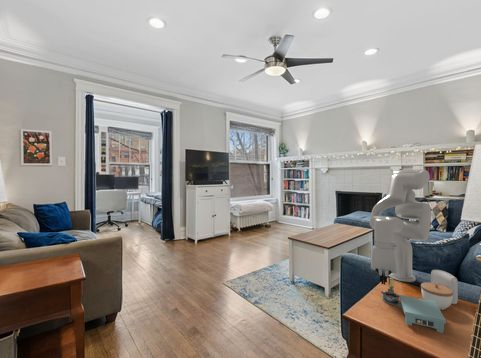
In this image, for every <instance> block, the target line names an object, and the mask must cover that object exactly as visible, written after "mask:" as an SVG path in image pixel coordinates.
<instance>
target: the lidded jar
mask: <svg viewBox="0 0 481 358" xmlns="http://www.w3.org/2000/svg"><path fill="white" fill-rule="evenodd" d="M420 289H421V296H422V299H424V300H429V301H434V302H436V304H437V306H438V307H439V309H440V311H441V310H446V309H447V308H449V307H450V306H451V305H452V304H451V303H452V300H453V291H452V290H451V289H450V288H448V287H446V286H443V285H440V284H436V283H431V282H422V283H421V284H420Z"/></svg>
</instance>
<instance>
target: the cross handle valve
mask: <svg viewBox="0 0 481 358" xmlns="http://www.w3.org/2000/svg"><path fill="white" fill-rule="evenodd" d="M394 280H395V279H393V278H391V277H389V278H388V289H387V291H384V290H381V291H380V294H382V297H383V299H384V300H386V301H388V302H391V303H398V302H399V301H400V295H401V294H397V293H396V292H395V289H394V288H395V287H394V286H395V285H394V284H395V281H394Z"/></svg>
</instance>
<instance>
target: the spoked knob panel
mask: <svg viewBox="0 0 481 358" xmlns="http://www.w3.org/2000/svg"><path fill="white" fill-rule="evenodd" d="M399 295H400V298H399V302H398V303H391V302H388V301H386V300H384V299H383V296H382V297H381V300H382V302H384V303H386V304H387V305H391V306H396V307H398V308H399V309H401V310H403V314H404V316H405V317H404V318H405V320H404V322H405V325H407V326H413V324H415V325H420V326H422V327H423V326H425V327H428V328H433V329H435V330H436V332H437V333H441V334H444V331H445V325H446V323H447V320H446V317H444V315H443V313H442V311H441V310H440V309H439V307H438V306H437V304H436V302H434V301H429V300H424V299H423V298H418V297H412V296H407V295H403V294H399Z"/></svg>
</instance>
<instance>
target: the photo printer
mask: <svg viewBox="0 0 481 358" xmlns="http://www.w3.org/2000/svg"><path fill="white" fill-rule="evenodd" d="M458 281H459V280H458V279H457V277H455V276H454V275H453V274H451V273H449V272H447V271H445V270H441V269H432V270H431V272H430V283H436V284H440V285H443V286H446V287H448V288H450V289H451V290H452V291H453V300H452V303H451V305H457V303H458V301H459V300H458V299H459V295H458V293H459V292H458V291H459V289H458V287H459V283H458Z"/></svg>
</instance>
